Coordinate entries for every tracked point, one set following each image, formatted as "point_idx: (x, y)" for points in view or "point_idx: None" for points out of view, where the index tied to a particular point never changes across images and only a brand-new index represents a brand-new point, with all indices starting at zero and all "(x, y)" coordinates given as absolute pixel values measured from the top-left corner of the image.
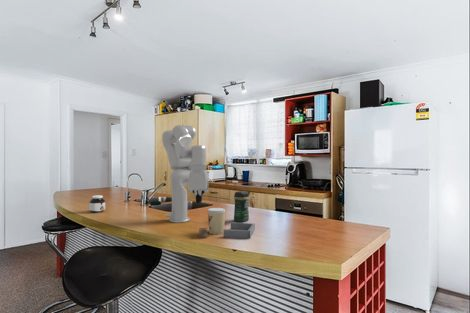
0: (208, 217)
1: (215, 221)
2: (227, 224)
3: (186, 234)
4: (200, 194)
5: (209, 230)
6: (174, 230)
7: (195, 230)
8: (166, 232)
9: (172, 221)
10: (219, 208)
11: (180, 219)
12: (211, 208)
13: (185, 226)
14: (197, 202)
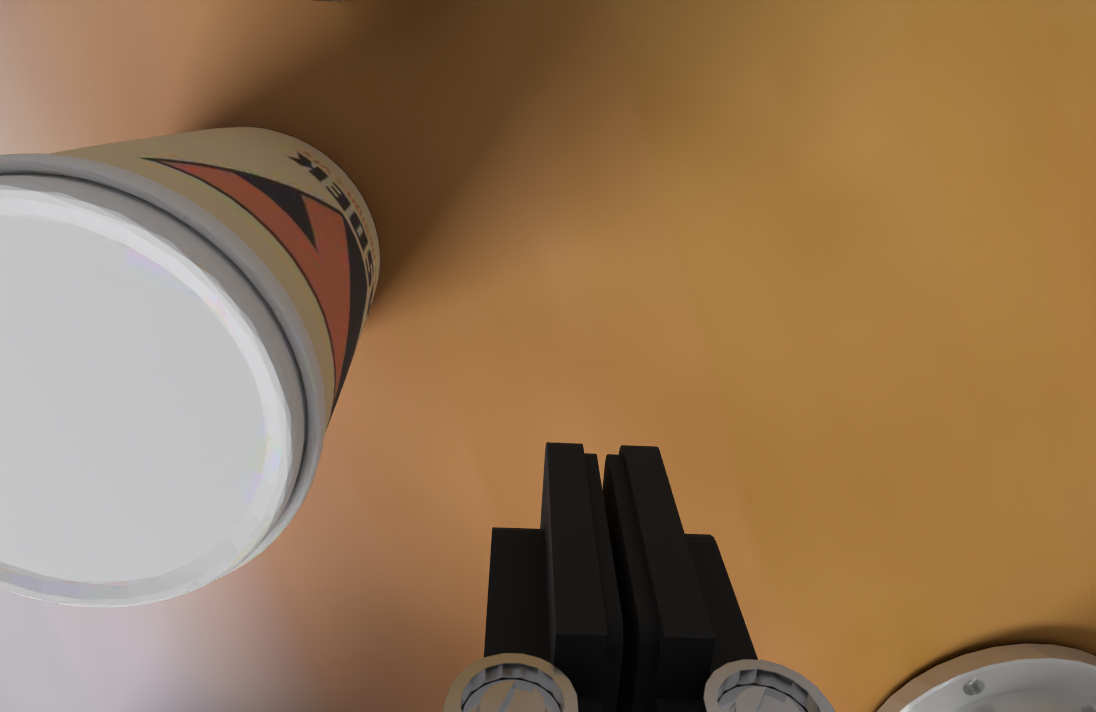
0: (303, 243)
1: (125, 142)
2: (255, 665)
3: (714, 15)
4: (489, 707)
5: (346, 186)
6: (972, 234)
7: (627, 287)
8: (1090, 87)
9: (1089, 657)
10: (55, 565)
11: (983, 710)
12: (251, 518)
13: (841, 482)
14: (620, 457)
